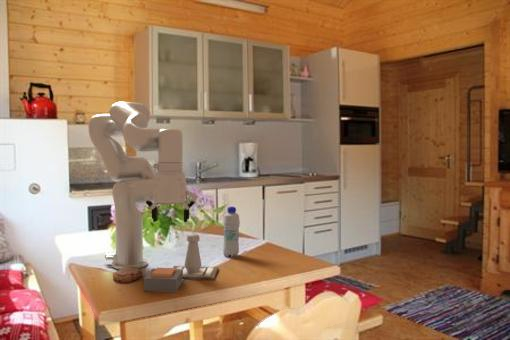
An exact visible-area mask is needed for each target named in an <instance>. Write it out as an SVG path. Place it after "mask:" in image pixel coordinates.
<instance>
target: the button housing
mask: <svg viewBox="0 0 510 340" xmlns="http://www.w3.org/2000/svg"><path fill="white" fill-rule="evenodd" d="M155 270H156V268H152V269H151V270H150V271H149V272H148V273H147V274H146V275H145V277H144V278H143V292H161V293H162V292H164V293H165V292H167V293H177V292H178V291H179V288H180V286H182V284H183V282H184V279H183V269H176V272H175V274H174V275H173V277H152V273H153V272H154V271H155Z"/></svg>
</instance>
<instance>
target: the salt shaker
mask: <svg viewBox="0 0 510 340" xmlns="http://www.w3.org/2000/svg"><path fill="white" fill-rule="evenodd" d="M200 238H201V237H200V235H199V234H198V233H189V234H187V236H186V241H187V242H188V244H187V250H186V254H185V260H184V266H185V267H186V270H187V272H188V273H196V272H198V271H199V269H200V267H202V260H201V255H200V254H201V253H200V249H199V248H200V247H199V242H200Z"/></svg>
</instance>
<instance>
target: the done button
mask: <svg viewBox="0 0 510 340" xmlns="http://www.w3.org/2000/svg"><path fill="white" fill-rule="evenodd" d="M155 269H156V270H155V271H154V272H153V273H152V277H173V275H174V274H175V272H176V268H173V267H156V268H155Z"/></svg>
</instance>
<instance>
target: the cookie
mask: <svg viewBox="0 0 510 340" xmlns="http://www.w3.org/2000/svg"><path fill="white" fill-rule="evenodd" d="M143 276H144V273H143V271H142V269H140V268H138V269H137V268H132V267H130V268H125V269H118V270H117V271H115V272H113V274H112V278H113V279H112V281H113V282H116V283H119V284H120V283H121V284H126V283H132V282H133V281H137V280H138V279H139V278H142V277H143Z"/></svg>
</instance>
